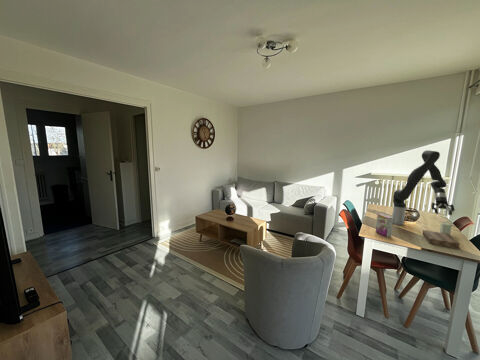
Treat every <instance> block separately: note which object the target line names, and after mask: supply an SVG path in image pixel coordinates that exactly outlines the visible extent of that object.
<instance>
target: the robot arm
mask: <svg viewBox="0 0 480 360" xmlns="http://www.w3.org/2000/svg"><path fill="white" fill-rule="evenodd" d="M440 156H441V153H440V152H439V151H436V150H424V151H422V153H421V158H422V160H423V164H421V165H419V166H417V167H415V169H413V170H412V171H411V173H409V174H408V177H407V180H406V184H405V186H404V187H403V188H402V189H396V190H395V191H394V192H393V196H392V197H393V198H392V202H393V209H392V212H391V213H392V214H391V217H392V218H393V225H395V226H396V225H397V226H403V225H404V224H405V217H406V216H405V215H406V208H407V205H406V203H405V201H406V200H408V199H409V198H410V196H411V195H412V193H413V192H414V189H415V188H416V186H417V185H418V184H419V182H421V180H422V179H423V178H424V176H425V175H426V174H427V172H429V175H430V178H431V180H432V181H431V182H430V186H431V188H432V189H433V191H434V200H435V202H431V210H434V213H435V215H438V214H439V211H438V210H439V209H440V210H446V211H447V212H448V216H452V215H453V212H454V211H455V206H454V204H452V203H451V204H448V203H449V202H448V198H447V194H446V190H445V189H444V188H446V187H447V182H446V180H444V179H443V176H442V173H441V171H440V169H439V168H438V167H437V165H436V164H435V163H436V162H437V161H439V158H440ZM435 206H436V207H435Z"/></svg>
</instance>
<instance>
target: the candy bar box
mask: <svg viewBox="0 0 480 360" xmlns="http://www.w3.org/2000/svg"><path fill="white" fill-rule="evenodd" d="M393 225H394V224H393V218H392V216H389V215H386V214H384V213H378V214H377V216H376V226H375V233H377V234H379V235H381V236H383V237H386V238H391V237H392V234H393V232H392V231H393Z"/></svg>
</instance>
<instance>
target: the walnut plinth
mask: <svg viewBox="0 0 480 360" xmlns="http://www.w3.org/2000/svg"><path fill="white" fill-rule="evenodd" d="M422 236H423V237H424V239H425V240H426V241H427V242H428V243H429V244H430V245H434V246H435V245H436V246H441V247H446V246H447V248H452V247H453V249H457V248H458V249H460V242H459V241H457V239H455V238H454V237H453V236H452V235H451V233H450V234H446V233H440V231H432V230H427V229H426V230H424V229H422Z"/></svg>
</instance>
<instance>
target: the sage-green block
mask: <svg viewBox="0 0 480 360" xmlns="http://www.w3.org/2000/svg"><path fill="white" fill-rule="evenodd" d="M451 231H452V224H451V223H448V222H441V223H440V228H439V232H440V233H446V234H450V235H451Z"/></svg>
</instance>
